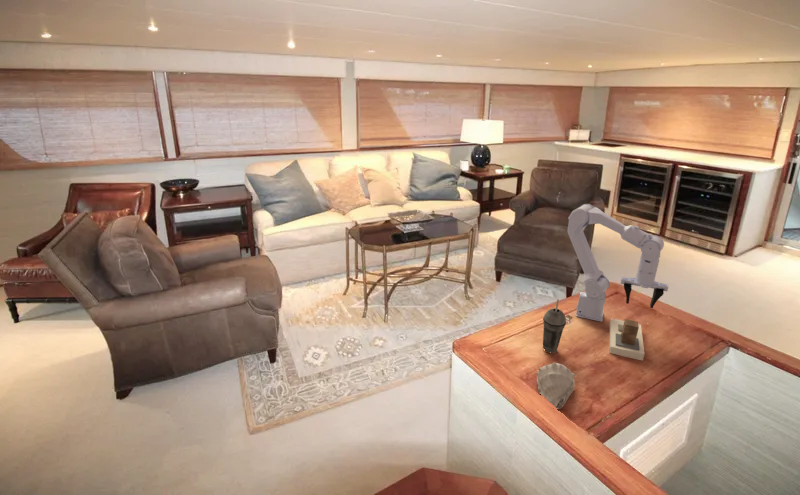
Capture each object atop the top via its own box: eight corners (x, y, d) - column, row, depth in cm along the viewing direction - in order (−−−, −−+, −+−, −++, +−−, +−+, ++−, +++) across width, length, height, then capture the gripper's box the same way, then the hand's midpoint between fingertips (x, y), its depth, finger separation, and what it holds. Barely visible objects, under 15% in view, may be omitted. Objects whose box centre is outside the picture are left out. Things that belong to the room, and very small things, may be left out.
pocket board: (609, 352, 141) (610, 346, 140) (609, 323, 158) (611, 318, 157) (642, 360, 137) (644, 354, 136) (639, 330, 154) (641, 324, 153)
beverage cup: (561, 346, 144) (571, 295, 137) (559, 358, 138) (569, 305, 131) (540, 341, 147) (548, 290, 140) (537, 352, 141) (545, 300, 133)
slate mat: (615, 345, 141) (616, 343, 141) (615, 334, 147) (615, 333, 147) (639, 350, 138) (639, 349, 138) (638, 339, 144) (638, 338, 144)
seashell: (547, 412, 115) (552, 383, 112) (528, 379, 128) (533, 352, 125) (589, 410, 116) (596, 381, 113) (567, 377, 129) (572, 350, 126)
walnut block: (620, 342, 141) (625, 324, 139) (620, 336, 145) (624, 318, 142) (634, 345, 140) (638, 327, 137) (633, 339, 143) (638, 321, 141)
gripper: (624, 271, 145) (617, 305, 150) (672, 278, 140) (663, 314, 145) (623, 263, 151) (616, 297, 156) (670, 270, 146) (661, 304, 150)
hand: (639, 304), depth 151 cm, fingers open, 7 cm apart
